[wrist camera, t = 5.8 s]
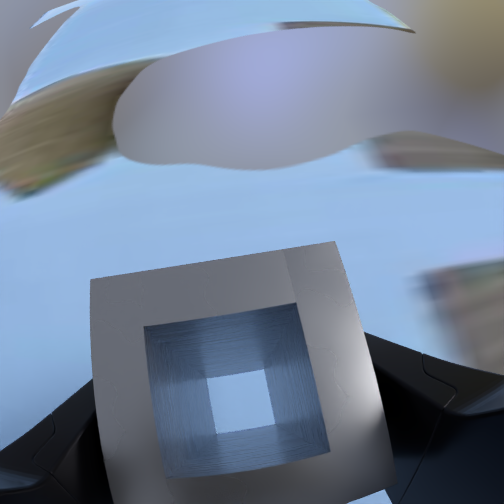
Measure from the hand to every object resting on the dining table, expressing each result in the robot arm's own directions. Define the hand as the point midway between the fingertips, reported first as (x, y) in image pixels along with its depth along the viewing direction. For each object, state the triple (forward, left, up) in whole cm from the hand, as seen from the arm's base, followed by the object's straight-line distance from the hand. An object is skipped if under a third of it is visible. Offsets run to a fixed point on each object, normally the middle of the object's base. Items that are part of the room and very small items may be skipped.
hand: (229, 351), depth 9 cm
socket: (-1, -1, -7) cm, 7 cm away
